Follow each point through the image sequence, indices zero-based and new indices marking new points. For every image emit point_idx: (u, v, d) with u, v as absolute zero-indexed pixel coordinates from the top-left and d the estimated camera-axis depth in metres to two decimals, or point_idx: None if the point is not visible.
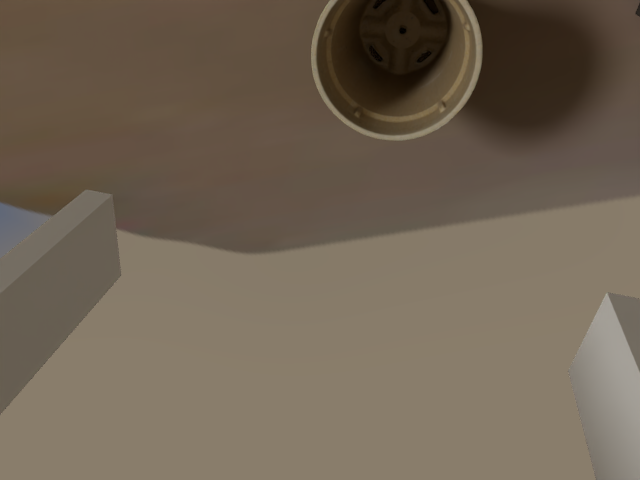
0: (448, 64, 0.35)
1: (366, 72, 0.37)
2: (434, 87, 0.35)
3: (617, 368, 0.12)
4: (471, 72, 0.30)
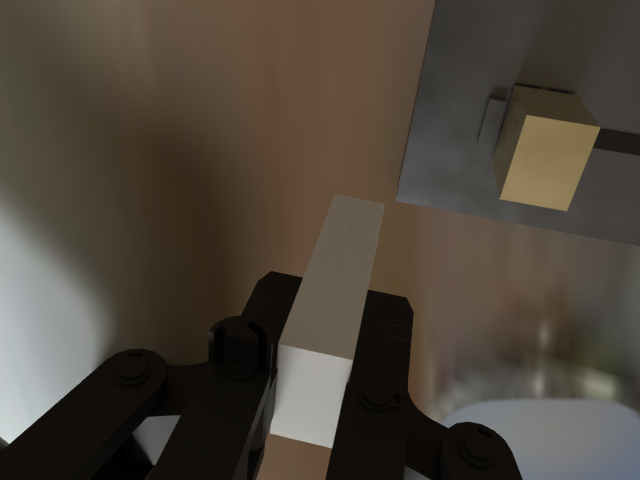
0: None
1: None
2: None
3: None
4: None
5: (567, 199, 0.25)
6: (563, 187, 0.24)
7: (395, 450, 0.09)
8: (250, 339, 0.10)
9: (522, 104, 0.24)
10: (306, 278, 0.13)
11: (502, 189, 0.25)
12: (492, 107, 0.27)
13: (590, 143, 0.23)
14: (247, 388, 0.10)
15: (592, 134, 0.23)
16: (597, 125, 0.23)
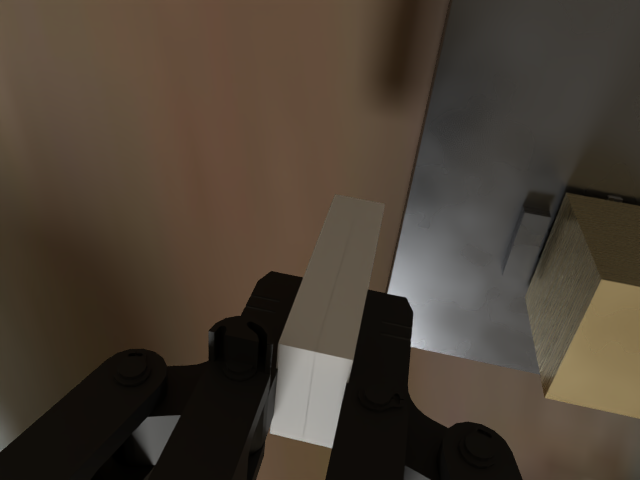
0: None
1: None
2: None
3: None
4: None
5: None
6: None
7: (395, 450, 0.09)
8: (250, 339, 0.10)
9: (587, 245, 0.14)
10: (306, 278, 0.13)
11: (550, 383, 0.15)
12: (528, 224, 0.17)
13: None
14: (247, 388, 0.10)
15: None
16: None
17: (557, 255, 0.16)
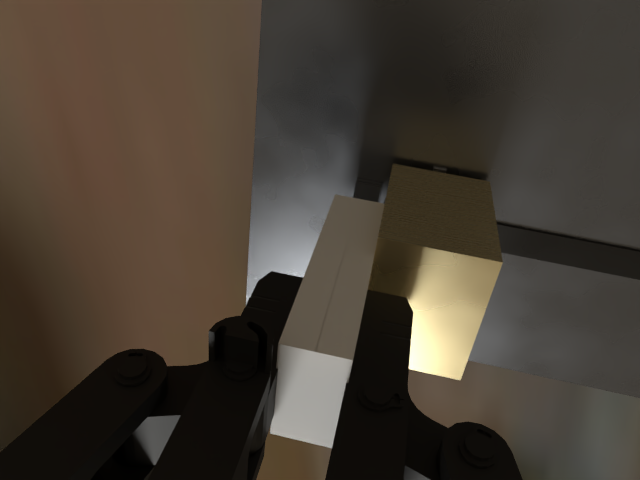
0: None
1: None
2: None
3: None
4: None
5: (459, 364, 0.15)
6: (451, 347, 0.15)
7: (395, 450, 0.09)
8: (250, 339, 0.10)
9: (384, 209, 0.15)
10: (306, 278, 0.13)
11: None
12: (361, 194, 0.18)
13: (488, 285, 0.13)
14: (247, 388, 0.10)
15: (490, 272, 0.13)
16: (498, 258, 0.13)
17: None
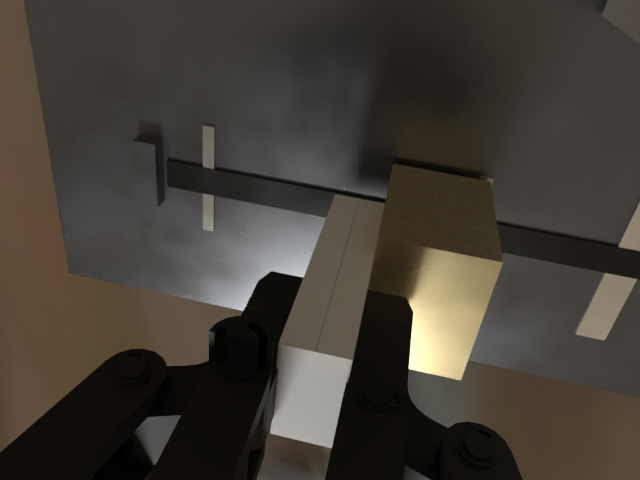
0: None
1: None
2: None
3: None
4: None
5: (459, 364, 0.15)
6: (451, 347, 0.15)
7: (395, 450, 0.09)
8: (250, 339, 0.10)
9: (384, 209, 0.15)
10: (306, 278, 0.13)
11: None
12: (139, 152, 0.18)
13: (488, 286, 0.13)
14: (247, 388, 0.10)
15: (490, 272, 0.13)
16: (498, 258, 0.13)
17: None
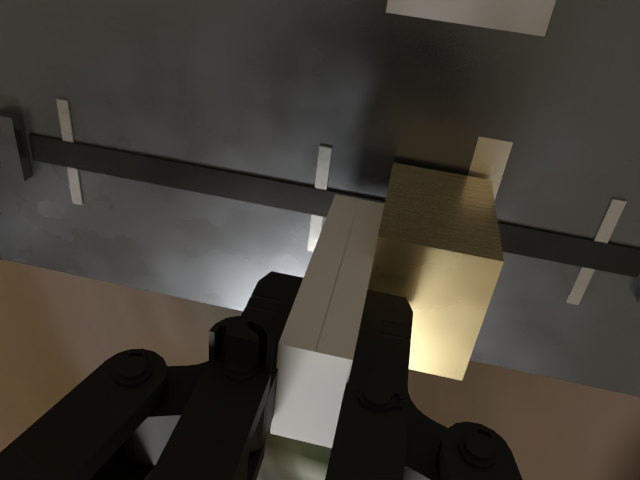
0: None
1: None
2: None
3: None
4: None
5: (460, 364, 0.15)
6: (452, 347, 0.15)
7: (395, 450, 0.09)
8: (250, 339, 0.10)
9: (384, 208, 0.15)
10: (306, 278, 0.13)
11: None
12: None
13: (489, 285, 0.13)
14: (247, 388, 0.10)
15: (491, 272, 0.13)
16: (499, 257, 0.13)
17: None
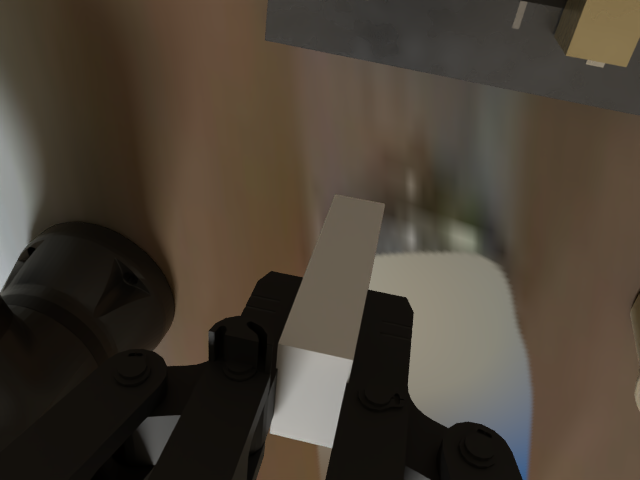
0: None
1: None
2: None
3: None
4: None
5: (627, 54, 0.27)
6: (625, 42, 0.27)
7: (395, 450, 0.09)
8: (250, 339, 0.10)
9: None
10: (306, 278, 0.13)
11: (569, 46, 0.28)
12: None
13: None
14: (247, 388, 0.10)
15: None
16: None
17: None
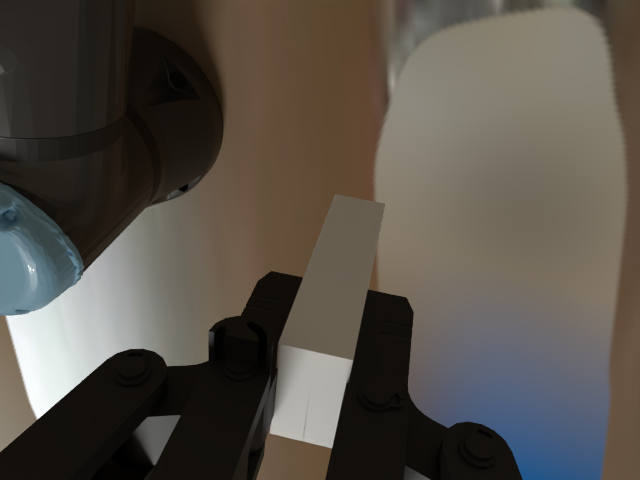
0: None
1: None
2: None
3: None
4: None
5: None
6: None
7: (395, 450, 0.09)
8: (250, 339, 0.10)
9: None
10: (306, 278, 0.13)
11: None
12: None
13: None
14: (247, 388, 0.10)
15: None
16: None
17: None
